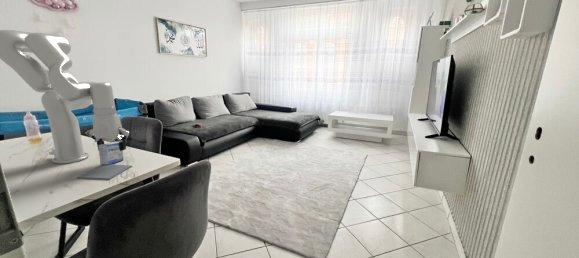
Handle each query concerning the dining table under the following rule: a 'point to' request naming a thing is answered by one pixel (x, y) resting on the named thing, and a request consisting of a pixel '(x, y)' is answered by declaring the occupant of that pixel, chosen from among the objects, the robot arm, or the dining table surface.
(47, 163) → the dining table surface
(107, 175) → the mat
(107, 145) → the medicine box
